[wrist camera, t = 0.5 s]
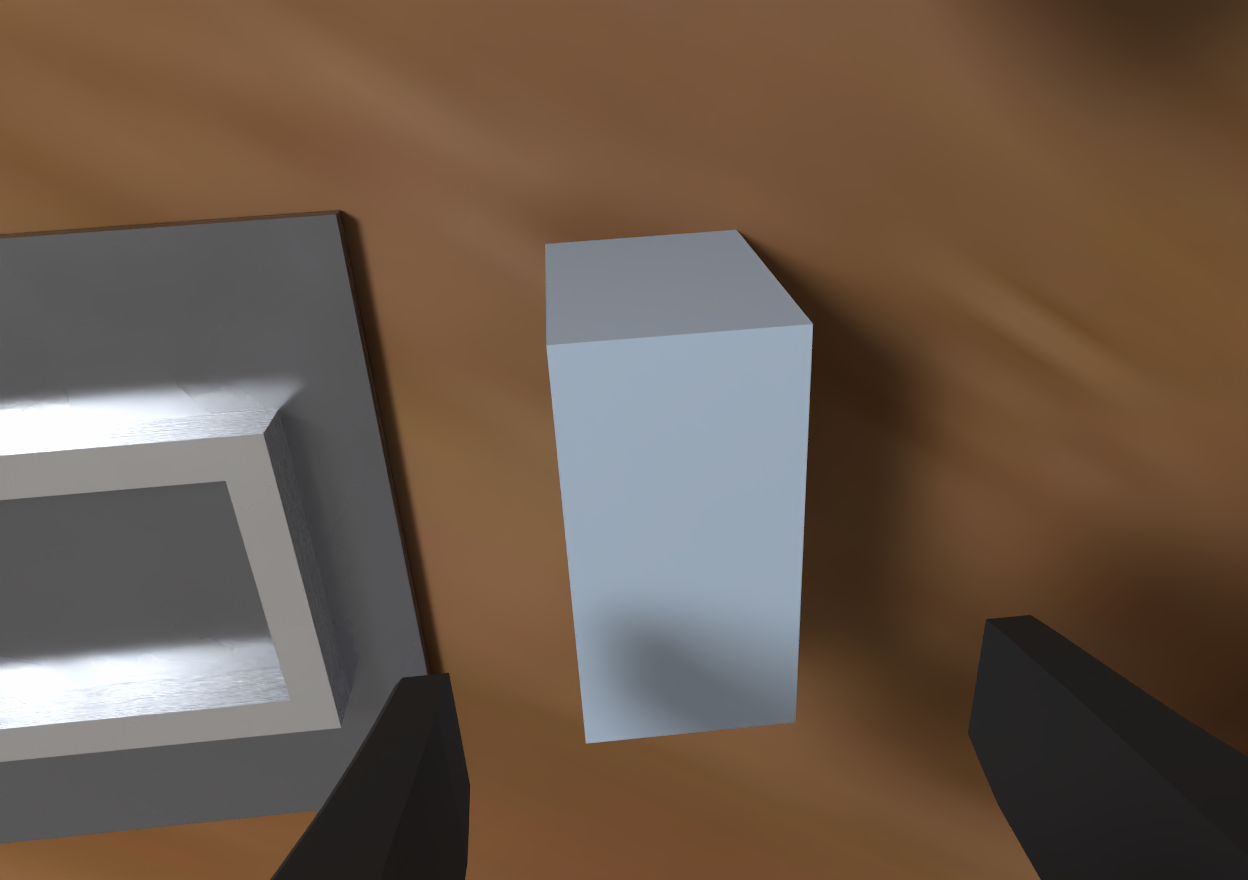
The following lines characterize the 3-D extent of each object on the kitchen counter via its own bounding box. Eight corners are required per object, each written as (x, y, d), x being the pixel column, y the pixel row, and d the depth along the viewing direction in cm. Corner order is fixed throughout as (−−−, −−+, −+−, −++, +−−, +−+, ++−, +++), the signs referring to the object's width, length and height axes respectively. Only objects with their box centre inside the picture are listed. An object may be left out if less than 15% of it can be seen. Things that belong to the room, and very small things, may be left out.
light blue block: (734, 547, 22) (794, 722, 17) (575, 562, 22) (586, 743, 17) (735, 228, 19) (813, 324, 13) (545, 243, 19) (546, 345, 13)
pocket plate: (452, 785, 25) (443, 872, 23) (-140, 846, 24) (-218, 944, 22) (339, 210, 18) (307, 245, 15) (-511, 271, 17) (-692, 319, 14)
